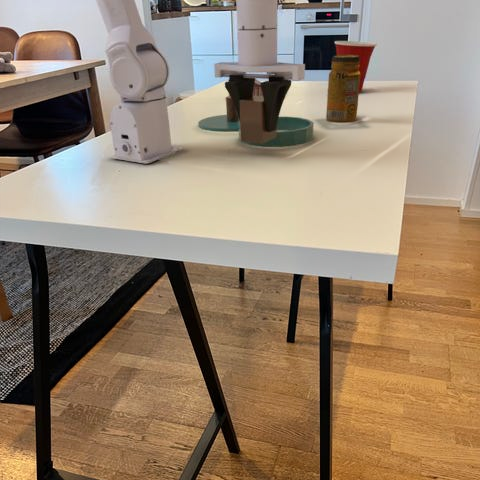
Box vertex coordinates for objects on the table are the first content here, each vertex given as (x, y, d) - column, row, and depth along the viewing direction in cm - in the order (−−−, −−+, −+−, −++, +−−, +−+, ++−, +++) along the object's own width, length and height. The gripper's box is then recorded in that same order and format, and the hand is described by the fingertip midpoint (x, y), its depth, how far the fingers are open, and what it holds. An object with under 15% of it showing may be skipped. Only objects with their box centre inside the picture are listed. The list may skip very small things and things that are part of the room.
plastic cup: (376, 94, 125) (381, 41, 118) (334, 95, 125) (337, 43, 118) (367, 88, 134) (372, 38, 127) (328, 89, 134) (331, 40, 128)
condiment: (354, 118, 101) (359, 53, 94) (364, 127, 94) (371, 57, 87) (319, 120, 101) (322, 55, 94) (326, 128, 94) (331, 59, 87)
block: (262, 143, 74) (261, 101, 71) (240, 141, 76) (239, 100, 73) (276, 137, 77) (276, 96, 74) (255, 135, 79) (254, 95, 76)
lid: (243, 137, 90) (242, 105, 87) (184, 130, 97) (181, 100, 94) (280, 122, 100) (280, 93, 97) (224, 117, 107) (222, 89, 104)
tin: (291, 153, 79) (291, 135, 78) (225, 145, 86) (224, 128, 84) (324, 136, 88) (325, 119, 87) (263, 130, 95) (263, 114, 93)
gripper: (315, 26, 68) (311, 128, 75) (230, 28, 74) (234, 121, 82) (292, 29, 63) (290, 137, 70) (203, 31, 69) (210, 129, 77)
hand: (258, 129), depth 76 cm, fingers closed on block, 4 cm apart
